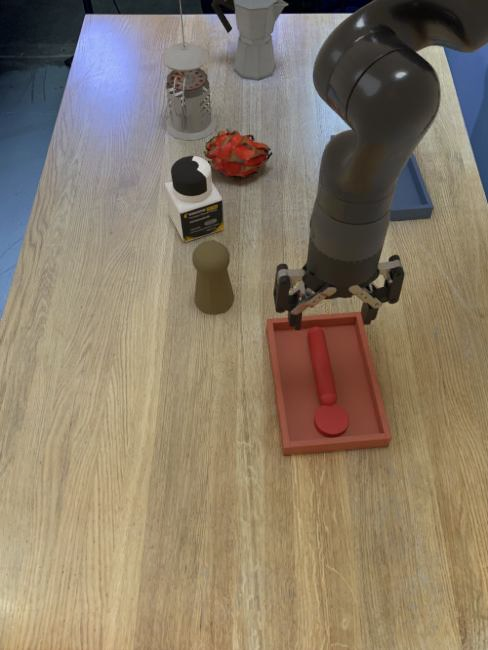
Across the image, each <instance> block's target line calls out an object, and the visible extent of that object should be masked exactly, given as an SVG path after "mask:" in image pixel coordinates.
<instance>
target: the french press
mask: <svg viewBox="0 0 488 650" xmlns="http://www.w3.org/2000/svg"><path fill="white" fill-rule="evenodd" d="M179 12H180V22H181V23H180V24H181V34H182V42H178V43H175V44H173V45H171V46H169V47H168V48H165V50H164V51H163V53H162V54H161V62H162V64H163V65H164V66H165V67H166V68H168V69H169V70H171V71H170V72H169V73H168V75H167V76H166V85H165V89H166V90H165V91H166V98H167V105H168V111H169V112H168V113H169V116H168V118H167V119H166V121H165V128H166V130H167V132H168V134H169V135H171V136H173V138H176V139H179V140H182V141H198V140H202V139H205V138H207V137H209V136H210V135H211V134H213V133H214V131H215V130H216V128H217V127H218V123H217V122H218V120H217V118H216V116H215V115H214V113H212V107H211V106H212V102H211V95H210V94H211V88H210V87H211V86H210V81H209V80H208V74H207V73H206V71H205V70H203V69H202V68H201V67H203V66H204V65H205V64H206V63H207V61H208V60H209V52H208V51H207V49H206V48H205V47H204V46H201V45H200V44H198V43H197V44H196V43H193V42H187V41H185V31H184V21H183V10H182V0H179ZM169 89H172V90H170V91H169ZM205 89H206V90H205ZM181 92H182V93H181ZM178 93H180V94H178ZM176 94H178V95H176Z"/></svg>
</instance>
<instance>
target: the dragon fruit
mask: <svg viewBox="0 0 488 650" xmlns="http://www.w3.org/2000/svg"><path fill="white" fill-rule="evenodd" d="M225 131H226V132H225ZM225 131H224V130H219V131H218V132H217V135H214V136H212V137H211V138H210V139H209V140H208V141H207V142H205V150H203V151H202V154H204V155H203V156H204V157H205V158H207V159H208V160H207V162H208V163H209V164H210V167H211V171H213V172H215V171H218V170H219V171H220V172H221V173H223V174H224V175H225V176H226V177H227V178H228V179H229V181H230V182H233V181H234V179H235V177H234V176H236V177H242V178H251V177H253V176H254V175H257V174H258V173H259V170H260V169H261V168H262V166H263V165H264V164H266V163H267V162H268V161H269V160H270V158H271V156H272V155H273V152H272V151H271V150H272V149H271V147H270V146H269V145H268V144H266V143H264V142H259V141H256V138H255V136H254V135H253V134H251V133H249V134H246V135H241V134H240V131H239V130H236V129H234V130H233V131H232V132H231V131H230V130H229V128H227V127H226V130H225ZM270 151H271V152H270ZM210 160H211V161H210Z"/></svg>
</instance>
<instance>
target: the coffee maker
mask: <svg viewBox="0 0 488 650" xmlns="http://www.w3.org/2000/svg"><path fill="white" fill-rule="evenodd" d="M220 5H222V6H224V7H225V8H228V9H230V10H232V11H233V12H234V15H235V16H234V17H235V22H236V23H235V24H236V28H237V31H238V35H239V36H238V39H237V45H236V54H235V59H234V68H233V71H234V72H235V73H236V75H238V76H239V77H240V78H241V79H244V80H253V81H261V80H264V79H266V78H269V77H272V76H273V74H274V72H275V69H276V58H275V52H274V43H273V37H272V33H274V29H275V26H276V22H277V21H278V19H279V17H280V15H281V14H282V12H283V10H284V9H285V7H287V6H289V3H288V2H286V1H285V0H212V2H211V8H212V9H213V11H214V13H215V14H216V16H217V18H218V20H219V21H220V23H221V25H222V26H223V28H224V30H225V31H226V33H227V34H229V33H231V32H232V30H233V26H232V25H231V23H230V22H229V20H228V18H227V17H226V15H225V13H224V12H223V9H222V8H221V6H220Z"/></svg>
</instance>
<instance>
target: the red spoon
mask: <svg viewBox="0 0 488 650" xmlns="http://www.w3.org/2000/svg"><path fill="white" fill-rule="evenodd" d="M308 341H309V347H310V352H311V358H312V363H313V369H314V374H315V380H316V386H317V391H318V397H319V401H320V403H321V404H322V406H320V407H319V408H318V409H317V411H316V413H315V418H314V425H315V427H316V429H317V431H318V432H319V433H320V434H322V435H323V436H325V437H329V438H334V437H339V436H341V435H342V434H343V433H344V432H345V431H346V429H347V427H348V423H349V417H348V414H347V412H346V411H345V409H344V408H343V407H341V406H340V405H337V404H335V403H336V401H337V394H336V389H335V384H334V379H333V374H332V369H331V364H330V359H329V354H328V349H327V344H326V339H325V334H324V331H323V329H322V328H320V327H318V326H314V327H312V328H310V329H309V331H308Z"/></svg>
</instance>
